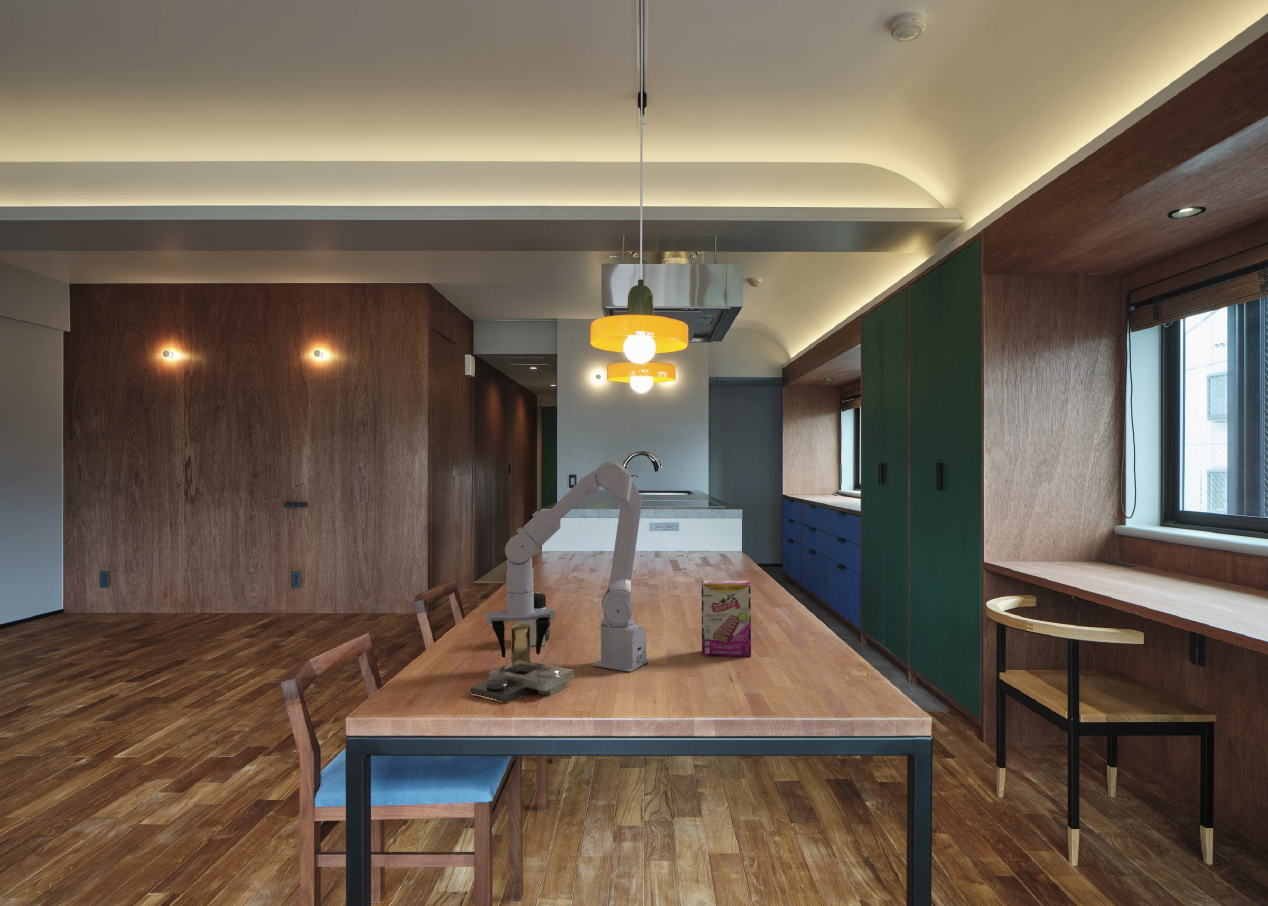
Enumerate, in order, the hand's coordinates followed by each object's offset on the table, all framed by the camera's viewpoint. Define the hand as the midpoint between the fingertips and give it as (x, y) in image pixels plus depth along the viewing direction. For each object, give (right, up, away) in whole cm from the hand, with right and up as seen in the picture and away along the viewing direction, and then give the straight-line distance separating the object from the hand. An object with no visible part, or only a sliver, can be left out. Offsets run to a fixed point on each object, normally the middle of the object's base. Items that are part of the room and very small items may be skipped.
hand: (520, 654), depth 138 cm
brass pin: (0, -3, 0) cm, 3 cm away
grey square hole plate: (+4, -3, -12) cm, 13 cm away
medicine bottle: (0, -4, +21) cm, 21 cm away
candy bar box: (+45, -3, +8) cm, 46 cm away
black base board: (+1, -3, -13) cm, 13 cm away
